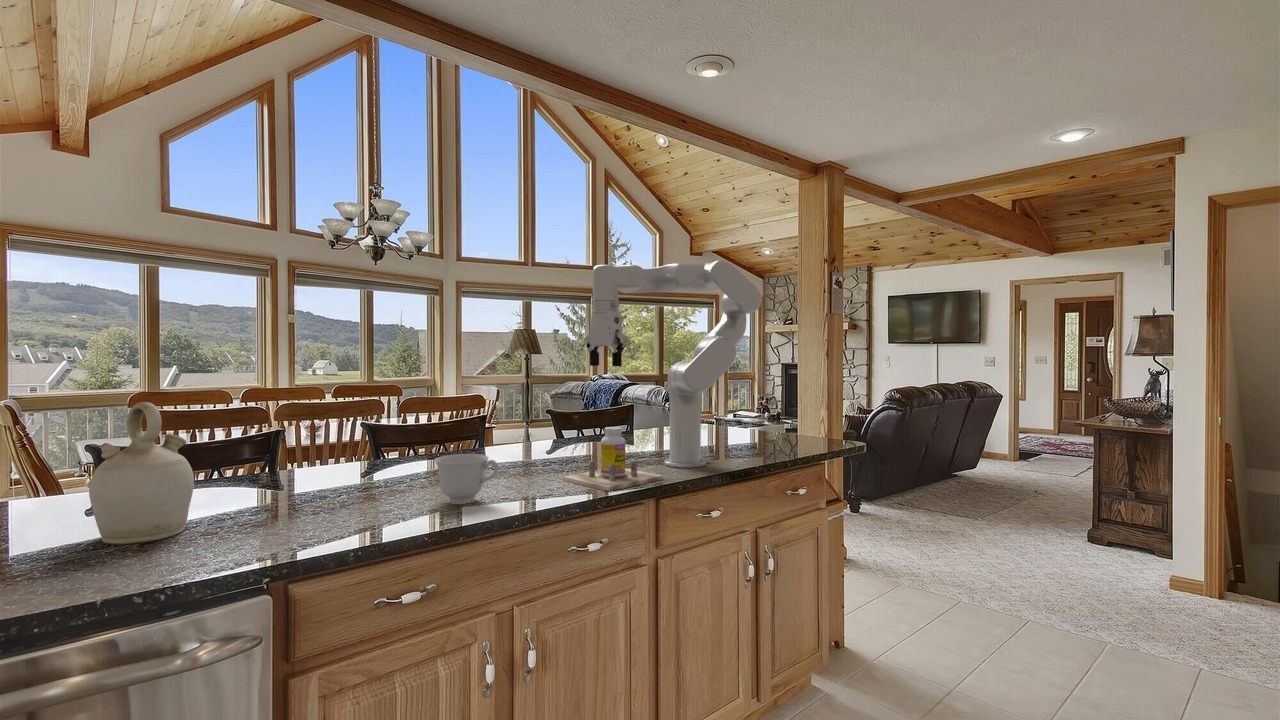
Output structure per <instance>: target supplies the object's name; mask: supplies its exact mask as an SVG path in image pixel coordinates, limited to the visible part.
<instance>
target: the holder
mask: <svg viewBox="0 0 1280 720" xmlns="http://www.w3.org/2000/svg"><path fill="white" fill-rule="evenodd" d="M663 478H664V476H663V475H661V474H657V473H656V474H655V473H650V472H646V471H640V470H638V461H637V460H630V468H626V467H625V475H624V476H622V477H615V465H609V477H604V476H602V475H601V469H597V470H596V461H595V460H589V461H588V471H587V472H581V473H576V474H570V475H565V476H562V481H564V482H567V483H572V484H576V485H581V486H583V487H589V488H593V489H598V490H601V491H606V492H612V491H615V490H621V489H625V488H629V487H634V486H638V485H644V484H647V483H652V482H656V481H661V480H664V479H663Z"/></svg>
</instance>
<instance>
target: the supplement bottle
mask: <svg viewBox="0 0 1280 720" xmlns="http://www.w3.org/2000/svg"><path fill="white" fill-rule="evenodd" d="M622 429H623V427H620V426H606V427H605V428H604V436H603V437H602V438H601V440H600V470H601V475H602V476H604V477H609V465H615V477H622V476H624V475H625V468H626V439H625V438H624V437H623V436H622V433H623V430H622Z"/></svg>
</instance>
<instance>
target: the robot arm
mask: <svg viewBox="0 0 1280 720" xmlns="http://www.w3.org/2000/svg"><path fill="white" fill-rule="evenodd" d="M716 290H720V291H721V292H722V293H723V295H722V298H721V303H720V305H721V312H722V313H721V319H720V321H719V322H718V323H717V325H716V326H715V327H714V328H713V329H712V330H711V331H709V333H707V335H706V336H704V337H703V339H701V340H699V342H698V343H697V345H696V346H695V348H694V351H693V357H694V359H692V360H680V361H677V362H676V363H674V364H673V365H672V366H671V367H670V368H669V370H668V374H667V387H668V396H669V397H668V398H669V399H668V400H669V457H668V458H666V459H664V461H663V462H664V465H666V466H668V467H671V468H687V469H690V468H700V467H704V466H705V465H706V464H707V462H706V460H705V459H703V457H705V456H708V455H709V454H710V450H709V449H708V448H704V449H703V448H702V447H701V446H702V445H701V443H702V442H701V440H702V439H701V437H702V434H701V433H702V431H701V430H702V428H701V427H702V425H701V424H702V421H701V419H702V418H701V417H702V416H701V415H702V401H701V396H700V394H702V393H705V392H706V391H708V390H709V389H710V388H711V387H712V386H713V385H714V384H715V383H716V382H717V381H718V380H719V379H720V378H721V377H722V376H723V375H724V374H725V373H726V372H727V371H728V370H729V369H730V368H731V367H732V366H733V363H734V362H735V359H736V357H737V347H736V345H737V344H738V343H739V342H740V341H741V339H742V338H743V337H744V335H745V333H746V329H747V314H752V313H754V312H755V313H756V312H757V310H759V309H760V307H761V305H762V303H763V302H762V301H763V297H762V294H761V292H760V290H759V288H758V287H757V286H756V285H755V284H754V283H753V282H751V281H750V279H749V278H747V277H746V276H745V275H744V274H743V273H742V272H741V271H740V270H739V269H737V267H735V266H734V265H733V264H732V263H730V262H729V261H727V260H723V259H718V260H716V261H713V262H706V263H705V262H702V263H701V262H697V263H696V262H695V263H693V262H692V263H682V262H681V263H678V262H677V263H670V264H665V265H662V266H657V267H650V268H649V267H648V268H643V267H641V266H640V265H637V264H623V265H613V264H599V265H595V266H594V267H593V269H592V313H591V317H590V324H589V325H590V326H589V334H587V336H585V337H584V341H585V345H586V348H587V351H588V353H589V366H591V367H593V366H594V367H598V366H600V352H599V350H600V348H601V347H611V349H612V351H613V352H612V354H611V355H612V356H611V358H612V359H611V364H612V365H611V367H622V364H623V363H622V361H623V360H622V359H623V356H622V353H624V349H625V348H626V345H627V341H628V339H629V338H628V336H626V335H625V334H624V330H623V321H622V314H621V311H619V307H620V303H619V292H620V293H623V294H640V293H641V294H642V293H647V294H648V293H676V292H678V293H679V292H713V291H716Z"/></svg>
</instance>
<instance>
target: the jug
mask: <svg viewBox="0 0 1280 720" xmlns="http://www.w3.org/2000/svg"><path fill="white" fill-rule="evenodd" d="M143 416H145V418H146V419H145V420H146V429H145V433H144V432H143V427H142V420H143ZM125 422H126V423H125V425H126V433H127V435H128V437H129V439H130V440H131V442H130V444H129V445H128V446H127V447H126V448H124V449H122V450H121V448H120V446H118V445H113V444H111V443H109V442H105V443H103V444H101V445H100V450H101V455H100V457H101V458H102V459H105V460H104V461H102V462H101V463H100V464H99V466H97V467H96V469H95V471H94V472H93V474H92V477H91V479H90V483H89V486H88V487H89V488H88V495H89V500H90V505H91V510H92V513H93V516H94V520H95V523H96V526H97V530H98V531H99V534H100V537H101V541H102V542H103V543H104V544H106V545H133V544H141V543H143V544H144V543H149V542H155V541H158V540H161V539H162V540H164V539H166V538H167V539H168V538H170V537H173V536H175V535H178V534H180V533H182V532H183V531H185V528H186V523H187V521H188V516H189V510H190V504H191V501H192V497H193V492H194V487H195V486H194V485H195V476H194V472H193V468H192V467H191V464H190V463H189V461H188V460H187V459H186V457H185V456H183V455H181V454H180V453H179V452H178V450H179V449H180V448H182V447H183V446H185V445H186V444H187V440H186V439H185V438H184V437H181V436H179V435H176V434H172V433H166V434H164V441H163V444H160V445H158V444H156V443H155V441H156V439H157V438H158V437H159V436H160V433H161V430H162V425H163V423H162V415H161V413H160V410H159V409H158V408H157V406H156V405H155V404H153V403H151V402H148V401H141V402H139V403H135V404H134V405H133V406H131V408H130V410H129V411H128V413H127V416H126V420H125Z"/></svg>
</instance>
